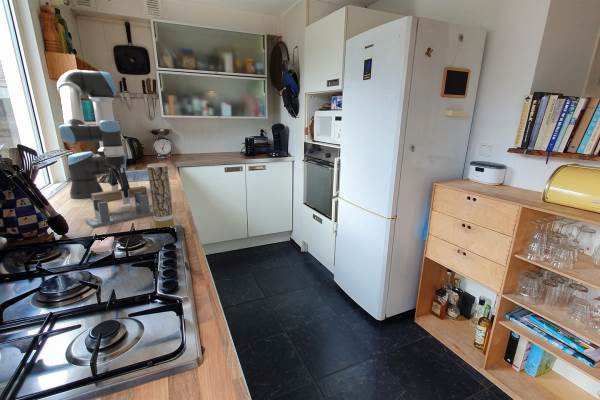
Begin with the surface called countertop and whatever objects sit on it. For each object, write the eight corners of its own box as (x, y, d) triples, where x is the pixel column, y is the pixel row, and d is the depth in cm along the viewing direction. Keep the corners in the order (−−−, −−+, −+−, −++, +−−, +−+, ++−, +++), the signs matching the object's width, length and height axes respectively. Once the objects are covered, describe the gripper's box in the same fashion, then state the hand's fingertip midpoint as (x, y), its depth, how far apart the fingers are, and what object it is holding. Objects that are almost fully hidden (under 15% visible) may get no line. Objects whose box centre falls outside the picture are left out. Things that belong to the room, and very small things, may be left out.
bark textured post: (167, 232, 115) (159, 166, 109) (151, 230, 117) (142, 165, 110) (177, 225, 122) (171, 163, 115) (162, 224, 123) (155, 162, 116)
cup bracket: (85, 221, 126) (81, 200, 123) (150, 208, 144) (147, 190, 142) (92, 227, 119) (88, 205, 117) (159, 213, 138) (157, 193, 135)
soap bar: (115, 242, 107) (114, 235, 106) (110, 252, 98) (108, 245, 98) (97, 244, 105) (96, 237, 104) (90, 255, 97) (89, 248, 96)
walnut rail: (92, 202, 136) (91, 193, 135) (143, 193, 152) (142, 185, 151) (95, 204, 133) (93, 195, 132) (147, 195, 149) (146, 187, 148)
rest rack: (97, 212, 139) (95, 201, 138) (141, 203, 152) (139, 194, 151) (101, 214, 135) (99, 203, 134) (146, 206, 149) (144, 196, 147)
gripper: (96, 154, 143) (104, 198, 148) (114, 159, 126) (122, 208, 132) (114, 152, 148) (121, 195, 154) (133, 157, 132) (140, 204, 137)
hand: (121, 201), depth 143 cm, fingers open, 13 cm apart
